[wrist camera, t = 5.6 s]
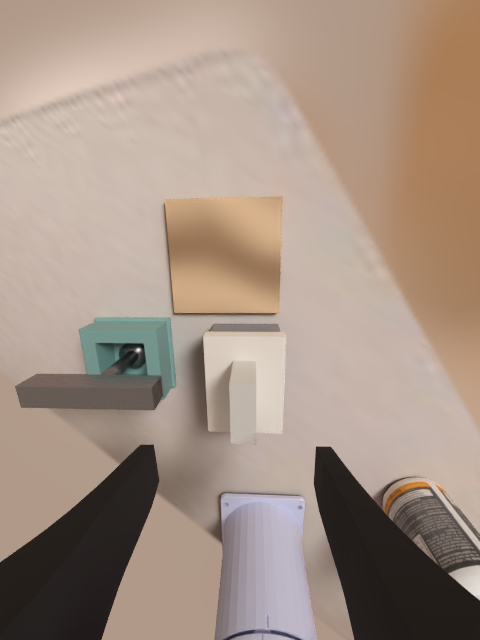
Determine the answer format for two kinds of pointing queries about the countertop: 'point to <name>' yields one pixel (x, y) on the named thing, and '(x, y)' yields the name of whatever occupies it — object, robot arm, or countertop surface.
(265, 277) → the cork mat
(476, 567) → the pill bottle
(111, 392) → the t key
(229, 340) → the cover
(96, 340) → the key socket
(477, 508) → the countertop surface
